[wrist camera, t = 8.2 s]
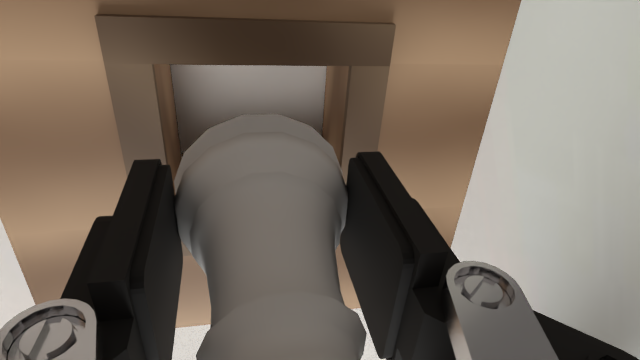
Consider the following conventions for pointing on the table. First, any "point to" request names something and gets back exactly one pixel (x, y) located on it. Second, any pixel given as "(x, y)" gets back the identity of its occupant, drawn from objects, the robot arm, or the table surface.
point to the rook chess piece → (268, 240)
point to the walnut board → (229, 49)
